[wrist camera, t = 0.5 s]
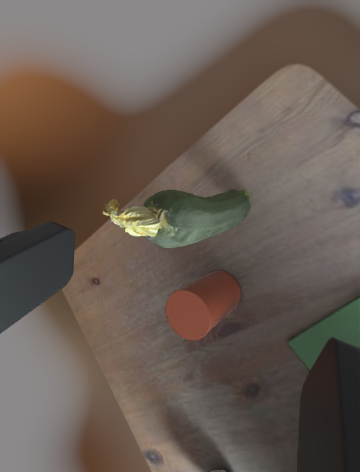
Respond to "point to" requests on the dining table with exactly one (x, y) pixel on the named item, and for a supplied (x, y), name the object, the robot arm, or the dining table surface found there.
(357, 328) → the green mat
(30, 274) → the robot arm
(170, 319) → the orange cylinder block
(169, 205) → the vegetable
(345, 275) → the dining table surface
